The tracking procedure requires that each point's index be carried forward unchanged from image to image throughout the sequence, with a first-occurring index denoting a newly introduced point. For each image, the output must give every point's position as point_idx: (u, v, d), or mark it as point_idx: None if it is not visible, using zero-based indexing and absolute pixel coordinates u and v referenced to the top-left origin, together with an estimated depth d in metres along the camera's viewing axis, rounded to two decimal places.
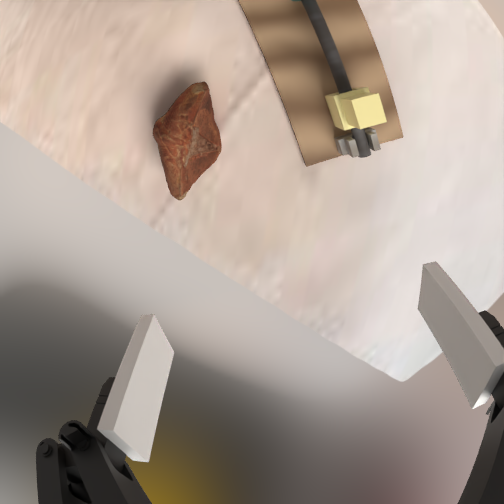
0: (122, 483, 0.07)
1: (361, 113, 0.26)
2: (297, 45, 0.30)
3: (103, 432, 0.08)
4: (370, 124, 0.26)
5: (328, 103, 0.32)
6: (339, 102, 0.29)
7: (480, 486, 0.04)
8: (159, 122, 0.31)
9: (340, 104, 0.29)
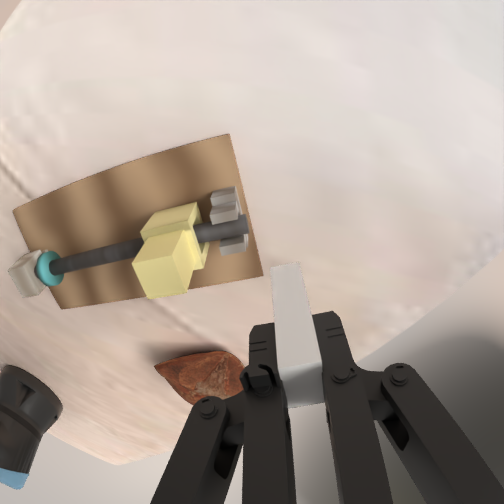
0: (286, 445, 0.08)
1: (163, 289, 0.20)
2: (114, 267, 0.30)
3: (283, 371, 0.10)
4: (178, 279, 0.20)
5: None
6: None
7: (342, 503, 0.06)
8: None
9: None
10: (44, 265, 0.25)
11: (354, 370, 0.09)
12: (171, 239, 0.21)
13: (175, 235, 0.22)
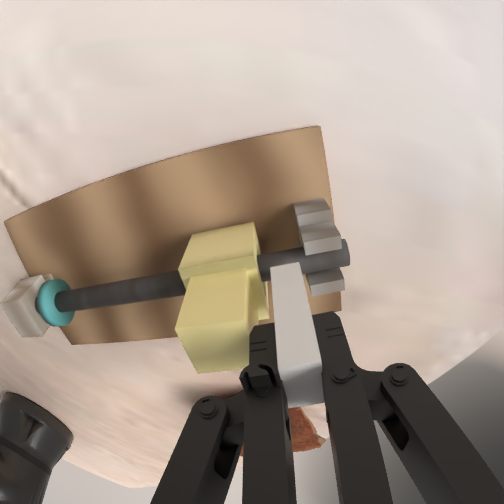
0: (287, 445, 0.08)
1: (224, 362, 0.13)
2: None
3: (283, 371, 0.10)
4: None
5: None
6: None
7: (342, 503, 0.06)
8: None
9: None
10: (48, 300, 0.18)
11: (354, 370, 0.09)
12: (232, 285, 0.14)
13: (236, 278, 0.15)
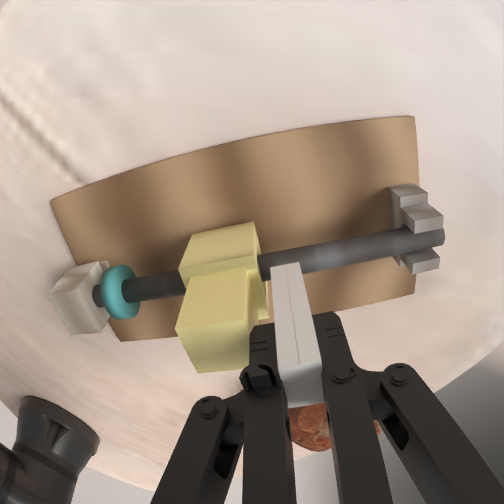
0: (287, 445, 0.08)
1: (224, 361, 0.13)
2: None
3: (283, 371, 0.10)
4: None
5: None
6: None
7: (342, 503, 0.06)
8: None
9: None
10: (115, 289, 0.18)
11: (354, 370, 0.09)
12: (232, 284, 0.14)
13: (236, 278, 0.15)
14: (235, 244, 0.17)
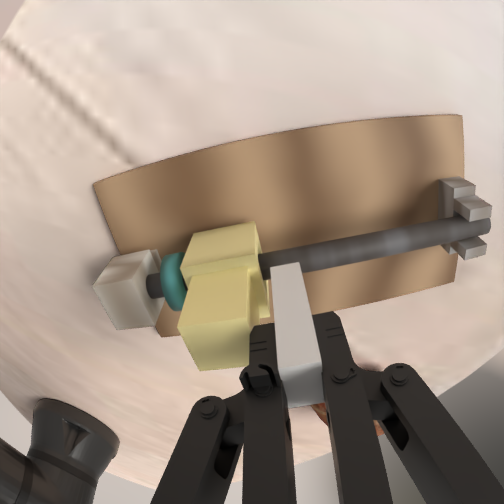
0: (287, 445, 0.08)
1: (225, 359, 0.13)
2: None
3: (283, 371, 0.10)
4: None
5: None
6: None
7: (342, 503, 0.06)
8: None
9: None
10: (178, 277, 0.17)
11: (354, 370, 0.09)
12: (233, 283, 0.15)
13: (237, 276, 0.15)
14: (236, 243, 0.17)
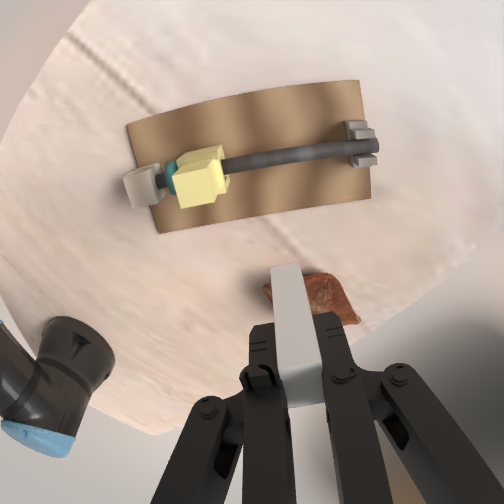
0: (286, 445, 0.08)
1: (195, 198, 0.25)
2: (239, 183, 0.34)
3: (283, 371, 0.10)
4: (209, 189, 0.25)
5: None
6: None
7: (343, 503, 0.06)
8: None
9: None
10: (175, 170, 0.29)
11: (354, 370, 0.09)
12: (203, 162, 0.26)
13: (206, 161, 0.27)
14: (208, 150, 0.29)
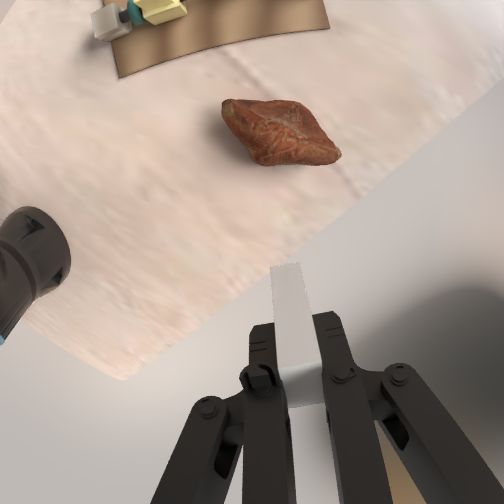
0: (286, 445, 0.08)
1: None
2: (196, 19, 0.27)
3: (283, 371, 0.10)
4: None
5: (161, 21, 0.26)
6: (150, 12, 0.23)
7: (342, 503, 0.06)
8: (254, 155, 0.32)
9: (152, 11, 0.23)
10: None
11: (354, 370, 0.09)
12: None
13: None
14: None
